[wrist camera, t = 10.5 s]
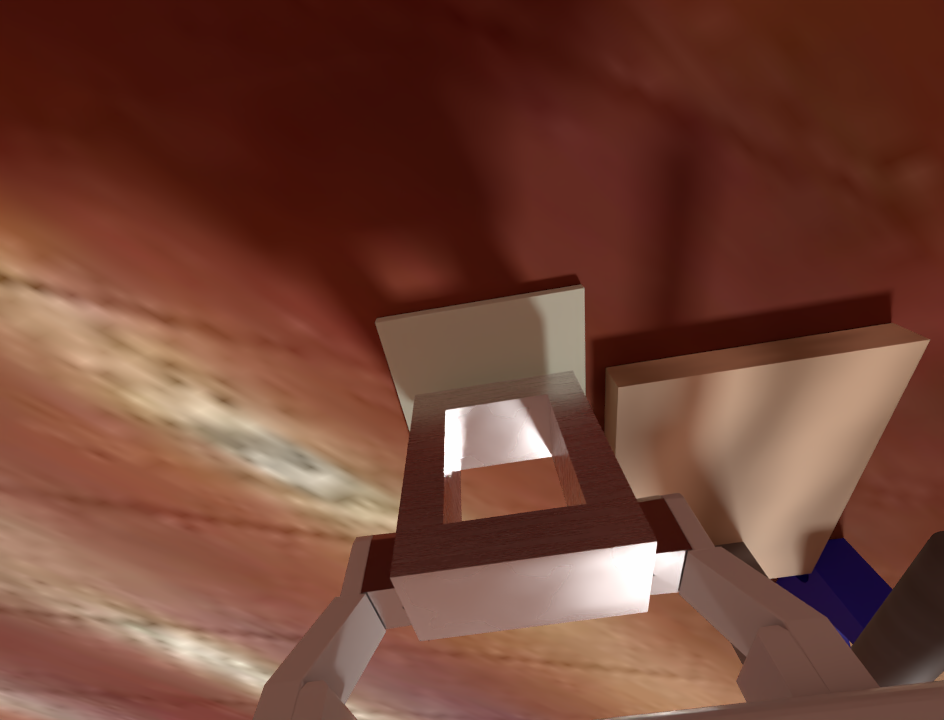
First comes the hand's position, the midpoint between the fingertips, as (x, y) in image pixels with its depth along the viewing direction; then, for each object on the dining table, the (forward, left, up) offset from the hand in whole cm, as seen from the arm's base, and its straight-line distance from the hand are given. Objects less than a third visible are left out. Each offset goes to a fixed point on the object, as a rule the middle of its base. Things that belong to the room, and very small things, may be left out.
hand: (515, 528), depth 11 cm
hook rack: (-11, +8, -7) cm, 15 cm away
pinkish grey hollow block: (0, 0, -5) cm, 5 cm away
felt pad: (0, 0, -7) cm, 7 cm away
